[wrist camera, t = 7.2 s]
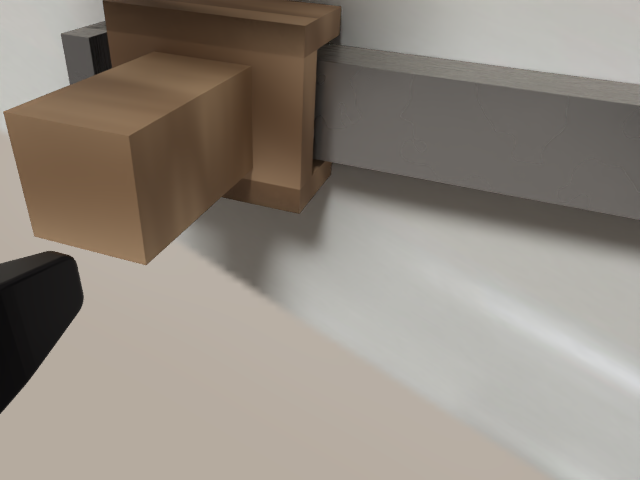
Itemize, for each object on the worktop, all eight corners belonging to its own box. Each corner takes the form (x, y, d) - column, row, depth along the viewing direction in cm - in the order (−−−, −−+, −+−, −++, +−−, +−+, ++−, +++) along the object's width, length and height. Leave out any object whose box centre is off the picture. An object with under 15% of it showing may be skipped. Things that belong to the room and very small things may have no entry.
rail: (822, 222, 16) (870, 281, 14) (131, 101, 22) (78, 127, 19) (884, 117, 14) (950, 163, 12) (121, 16, 20) (61, 33, 18)
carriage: (331, 174, 20) (210, 324, 13) (176, 144, 21) (-5, 264, 15) (341, 6, 17) (193, 85, 10) (162, -14, 19) (-71, 42, 12)
